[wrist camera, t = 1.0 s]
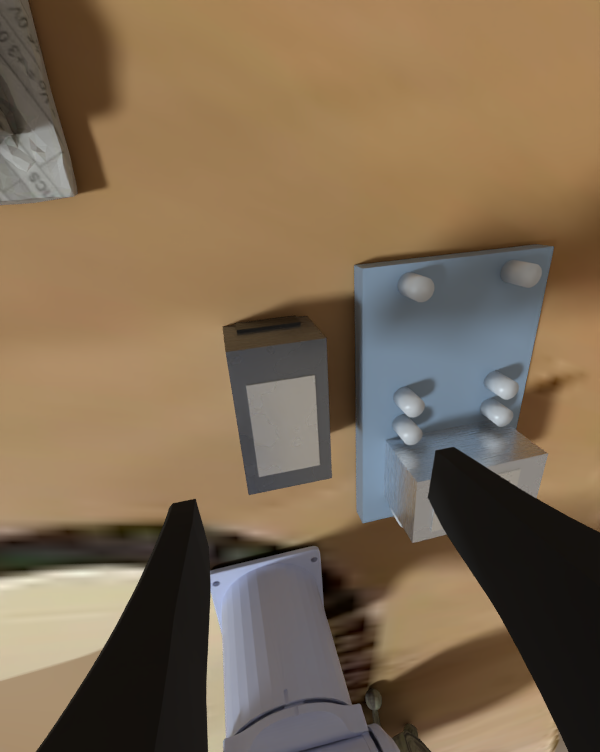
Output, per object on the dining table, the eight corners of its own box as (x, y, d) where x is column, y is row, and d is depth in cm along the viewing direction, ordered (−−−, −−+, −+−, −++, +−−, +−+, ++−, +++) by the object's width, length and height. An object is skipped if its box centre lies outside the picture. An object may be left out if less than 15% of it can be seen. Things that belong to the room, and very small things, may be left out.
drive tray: (492, 479, 29) (518, 504, 27) (356, 510, 27) (371, 540, 25) (537, 244, 22) (577, 249, 19) (354, 265, 20) (374, 273, 17)
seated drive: (491, 471, 27) (536, 513, 23) (383, 495, 25) (413, 544, 22) (501, 417, 25) (551, 453, 21) (385, 440, 24) (418, 483, 20)
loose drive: (305, 312, 21) (326, 335, 17) (313, 437, 24) (332, 479, 20) (222, 322, 20) (225, 349, 16) (242, 450, 23) (248, 496, 20)
